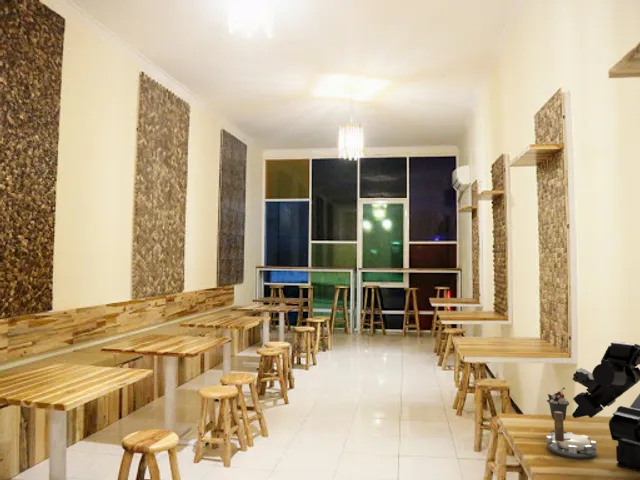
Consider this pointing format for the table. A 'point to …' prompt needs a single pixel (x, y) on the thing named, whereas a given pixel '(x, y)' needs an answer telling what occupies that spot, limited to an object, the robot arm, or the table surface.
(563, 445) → the dial
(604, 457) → the table surface
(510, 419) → the table surface
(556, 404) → the sundae
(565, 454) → the dial plate
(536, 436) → the table surface
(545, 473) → the table surface
